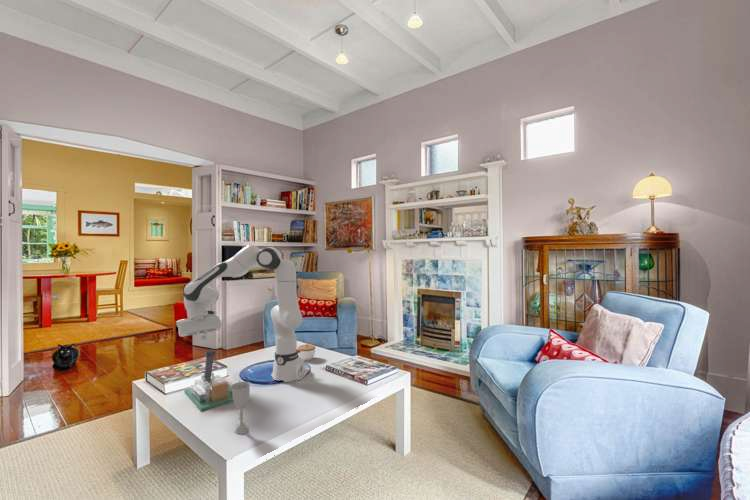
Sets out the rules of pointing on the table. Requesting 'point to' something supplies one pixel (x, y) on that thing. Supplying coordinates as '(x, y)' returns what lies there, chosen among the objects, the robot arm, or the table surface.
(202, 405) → the circuit board
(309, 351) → the lidded jar
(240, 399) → the chalice
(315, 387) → the table surface
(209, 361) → the dark grey bar
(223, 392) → the brown square block
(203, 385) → the heat sink
